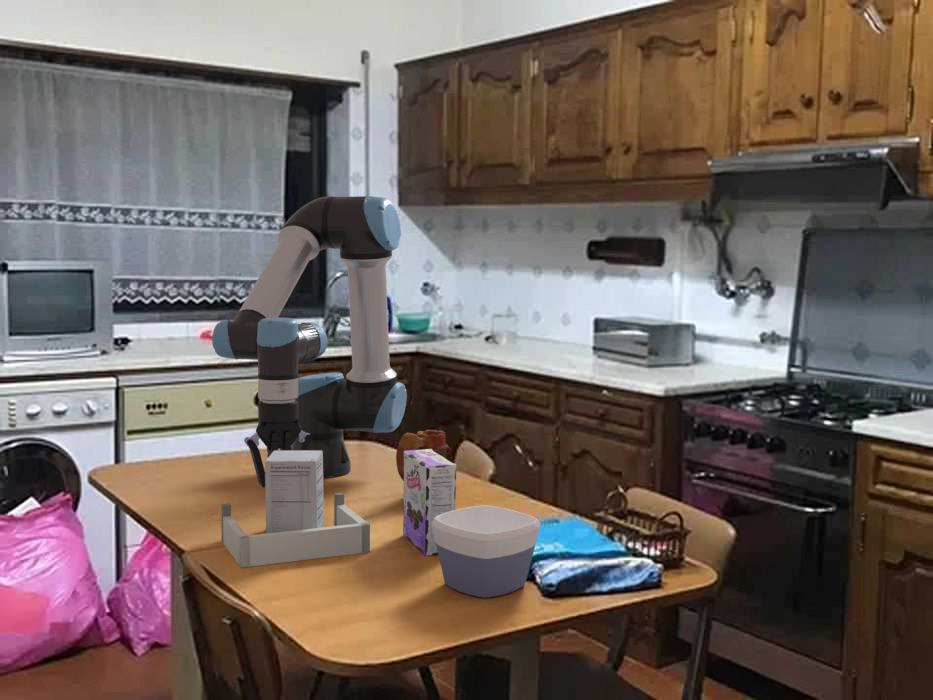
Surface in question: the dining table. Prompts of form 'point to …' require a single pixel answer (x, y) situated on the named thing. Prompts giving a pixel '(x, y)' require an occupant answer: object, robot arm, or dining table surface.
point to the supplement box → (294, 491)
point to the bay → (297, 539)
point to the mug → (421, 445)
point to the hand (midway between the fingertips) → (279, 521)
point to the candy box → (426, 495)
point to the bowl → (485, 549)
